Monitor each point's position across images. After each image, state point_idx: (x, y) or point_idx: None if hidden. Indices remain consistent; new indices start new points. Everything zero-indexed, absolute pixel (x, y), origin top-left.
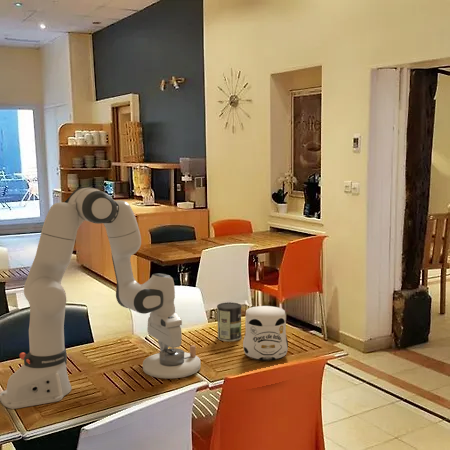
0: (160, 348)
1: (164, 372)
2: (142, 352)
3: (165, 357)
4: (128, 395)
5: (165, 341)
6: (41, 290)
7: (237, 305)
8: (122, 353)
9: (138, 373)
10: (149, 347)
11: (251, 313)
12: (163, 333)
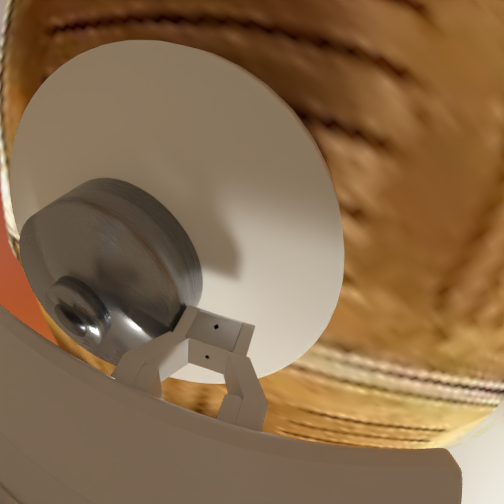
0: (238, 344)
1: (24, 119)
2: (483, 313)
3: (35, 214)
4: None
5: (30, 365)
6: None
7: None
8: None
9: (240, 22)
10: (472, 363)
11: None
12: (25, 454)
